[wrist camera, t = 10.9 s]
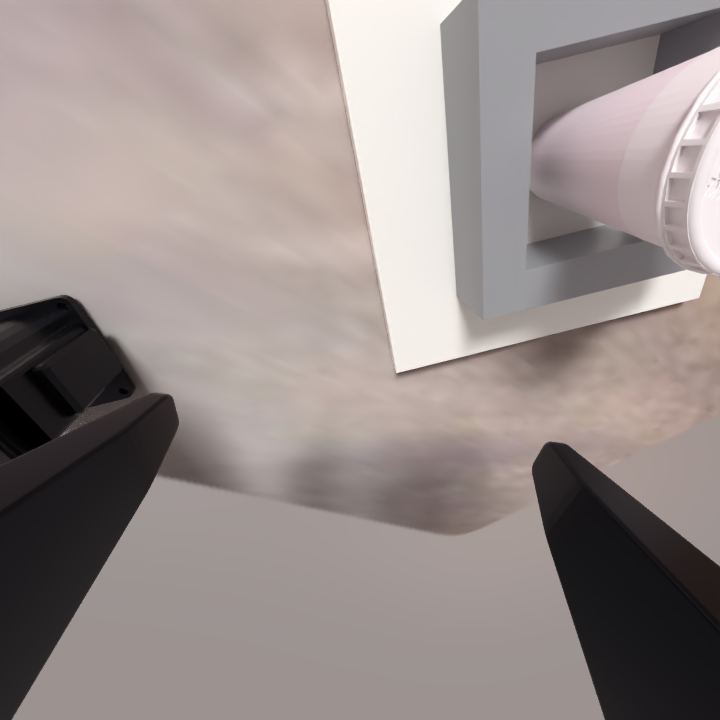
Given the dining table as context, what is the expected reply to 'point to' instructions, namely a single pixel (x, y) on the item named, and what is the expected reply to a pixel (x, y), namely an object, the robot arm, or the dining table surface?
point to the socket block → (497, 162)
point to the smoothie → (643, 161)
